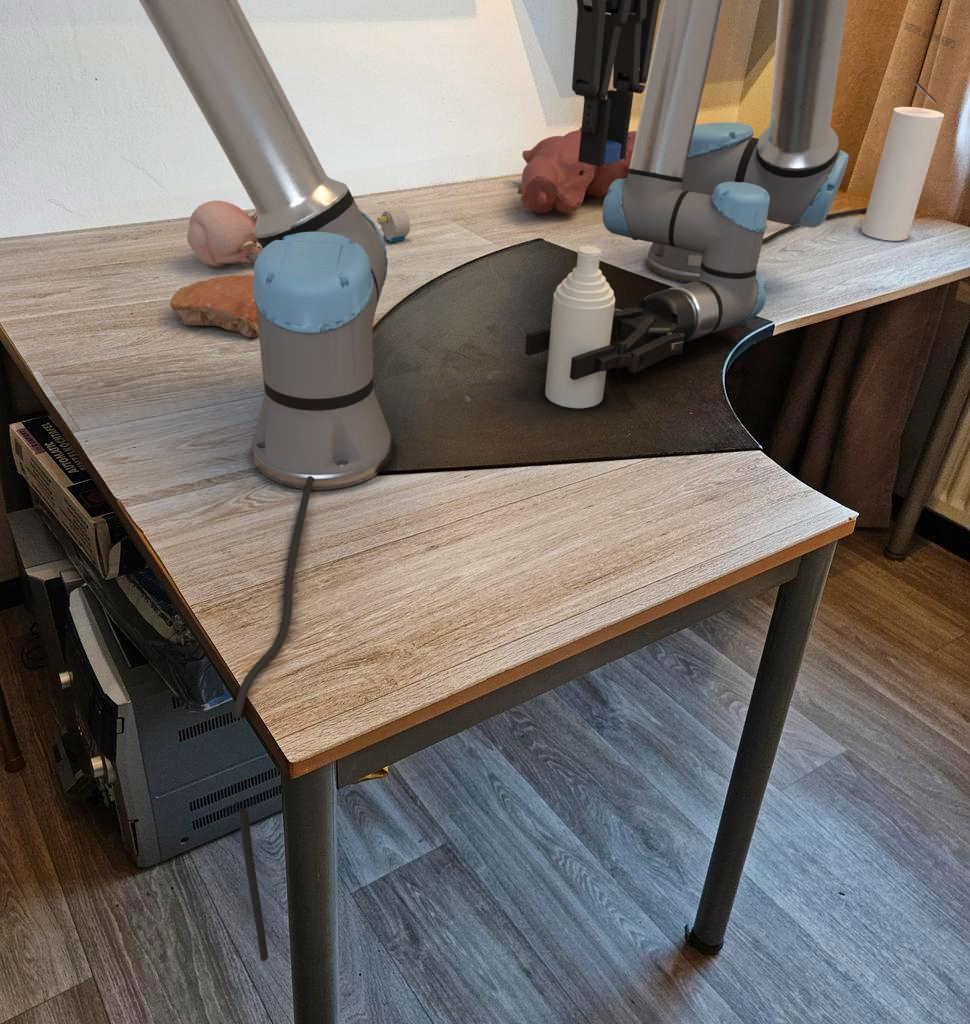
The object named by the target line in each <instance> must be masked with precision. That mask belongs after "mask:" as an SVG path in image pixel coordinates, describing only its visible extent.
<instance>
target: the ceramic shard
mask: <svg viewBox="0 0 970 1024" xmlns="http://www.w3.org/2000/svg"><path fill="white" fill-rule="evenodd" d="M253 280H254V274H250V275H249V274H248V275H246V274H244V275H243V274H242V275H237V274H236V275H235V274H233V275H225V276H218V277H213V278H209V279H206V280H200V281H197V282H194V283H190V284H188V285H186V286H182V287H181V288H179V290H177V291H176V292H175V293H174V294H173V295H172V297H171V299H170V302H169V305H170V308H171V309H172V310H173V312H175V313H176V314H178V316H179V318H180V320H181V321H182V323H183V324H184V325H186V326H204V327H205V326H206V327H207V326H208V327H209V326H213V327H215V326H216V327H220V328H223V329H224V330H227V331H232V332H237V333H240V334H241V335H243V336H245V337H249V338H256V337H258V336H259V329H258V319H257V309H256V302H255V300H254V292H253Z"/></svg>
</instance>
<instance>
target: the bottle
mask: <svg viewBox="0 0 970 1024" xmlns="http://www.w3.org/2000/svg"><path fill="white" fill-rule="evenodd" d="M576 254H577V257H576V258H577V260H576V266H575V267H574V268H572V272H571V271H570V272H569V273H568V274H567V276H566V278H563V280H562V281H561V283H559V284H558V285H557V286H556V290H555V291H554V293H553V299H552V310H551V322H550V326H551V331H550V343H549V350H548V355H547V366H546V367H547V368H546V377H545V378H546V380H545V390H544V394H545V396H546V398H547V400H549V401H550V402H551V403H554V404H555V405H558V406H561V407H564V408H569V409H570V408H571V409H588V408H592V407H596V406H597V405H599V404H600V403H601V402H603V399H604V393H605V385H606V376H607V370H606V371H599V372H596V373H594V374H591V375H588V376H585V377H582V378H579V379H576V380H573V379H571V378H570V370H571V360H572V357H574V356H577V355H580V354H583V353H586V352H589V351H592V350H596V349H599V348H602V347H605V346H608V345H611V330H612V322H613V314H614V306H615V307H616V297H615V293H614V290H613V289H612V287H611V286H610V285H611V284H610V283H609V282H608V281H607V278H606V276H604V274H602V273H603V272H602V270H601V269H600V262H601V261H600V260H601V257H602V251H601V249H600V248H599V247H596V246H593V245H584V246H583V245H582V246H580V247H578V249H577V252H576Z"/></svg>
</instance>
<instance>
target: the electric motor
mask: <svg viewBox="0 0 970 1024" xmlns="http://www.w3.org/2000/svg"><path fill="white" fill-rule="evenodd" d="M376 222H377V224H378V225H380V227H381V231H382V233H383V240H385V241H388V242H389V243H394V242H395V243H396V242H399V241H404V240H405V238H406V236H407V235H409V233H410V229H411V222H410V218H409V216H408V213H407V212H406V210H404V209H403V208H397V209H392V210H387V211H384V212H383V213H382V214H381V216H378V217H377V218H376Z"/></svg>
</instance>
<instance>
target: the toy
mask: <svg viewBox="0 0 970 1024" xmlns="http://www.w3.org/2000/svg"><path fill="white" fill-rule="evenodd" d="M257 218H258V212H257V210H255V212H254V214H251V215H249V211H246V212H245V210H243V209H242V208H240V207H239V205H235V204H233V203H231V202H228V201H224V200H211V201H207V202H204V203H202V204H200V205H199V206H197V207H196V209H194V211H193V212H192V214H191V215H190V218H189V225H188V230H187V233H186V240H187V243H188V245H189V246H190V248H191V250H192V253H193V254H194V255H195V256H196V258H198V260H199V261H201V262H203V263H204V264H205V265H210V266H213V267H222V266H224V265H226V264H238V265H244V264H243V262H244V263H249V264H251V265H252V264H253V260H252V259H251V258H249V257H248V256H251V255H254V254H256V255H259V253H260V252H261V251H262V249H263V248H262V247H261V246H258V245H257V243H258V244H260V243H259V241H258V239H257V238H256V236H255V234H254V230H255V226H256V222H257Z"/></svg>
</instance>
